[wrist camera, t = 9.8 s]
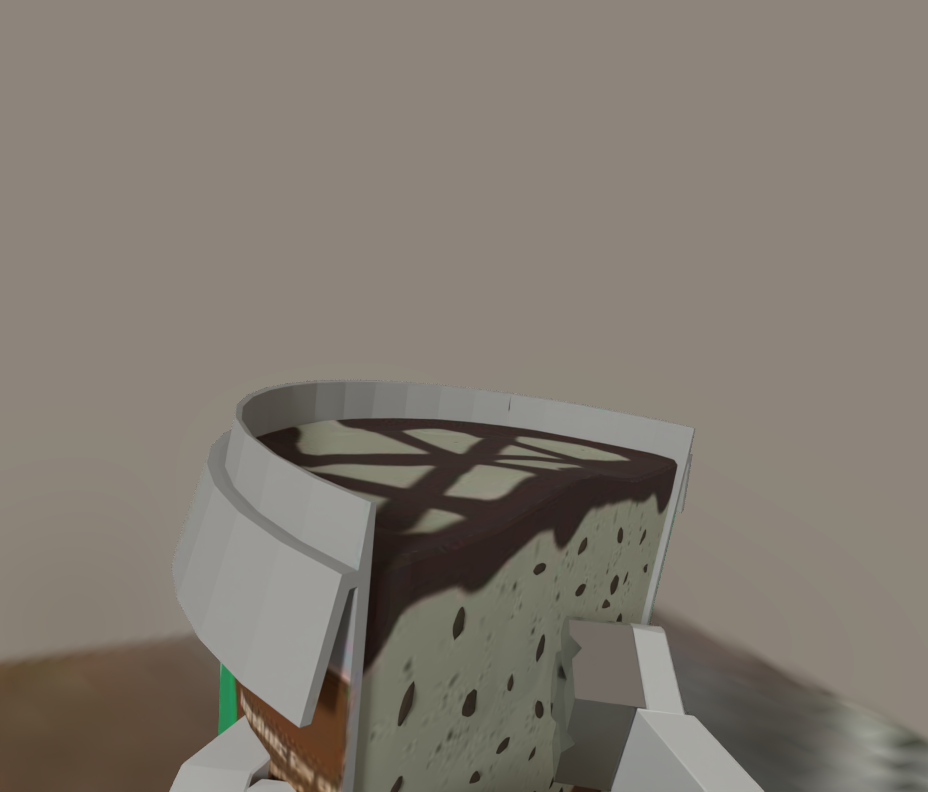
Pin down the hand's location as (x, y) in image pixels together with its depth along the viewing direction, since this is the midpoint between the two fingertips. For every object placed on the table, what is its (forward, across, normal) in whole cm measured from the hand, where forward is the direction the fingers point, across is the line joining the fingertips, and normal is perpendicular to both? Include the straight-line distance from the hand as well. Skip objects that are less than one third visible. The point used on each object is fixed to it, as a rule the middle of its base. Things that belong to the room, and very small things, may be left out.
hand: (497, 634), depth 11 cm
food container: (0, +2, +7) cm, 7 cm away
